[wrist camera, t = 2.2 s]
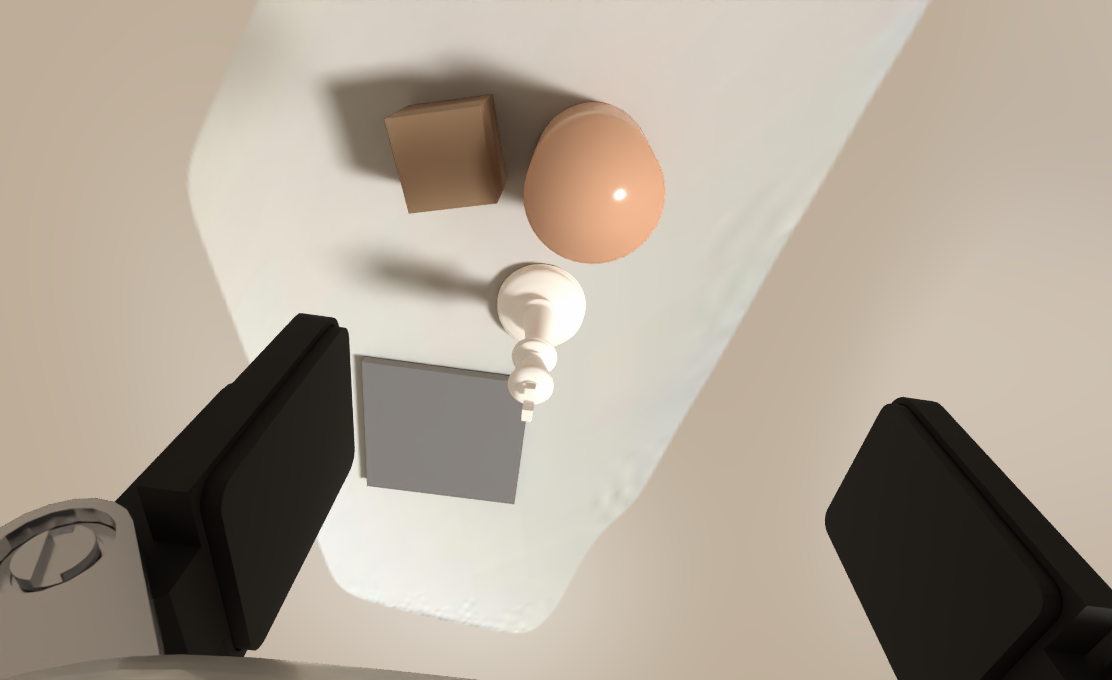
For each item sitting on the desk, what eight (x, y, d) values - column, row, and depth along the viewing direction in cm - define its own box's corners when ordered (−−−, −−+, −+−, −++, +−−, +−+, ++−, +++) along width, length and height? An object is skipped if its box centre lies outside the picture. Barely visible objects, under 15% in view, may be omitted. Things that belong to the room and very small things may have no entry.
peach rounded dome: (542, 93, 26) (532, 112, 21) (661, 112, 26) (680, 135, 21) (528, 210, 29) (516, 253, 24) (636, 226, 29) (647, 272, 24)
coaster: (364, 356, 34) (361, 361, 33) (531, 378, 34) (530, 384, 33) (370, 479, 39) (367, 485, 38) (515, 497, 39) (514, 504, 38)
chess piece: (494, 337, 33) (464, 454, 24) (500, 258, 30) (468, 356, 22) (579, 347, 33) (579, 466, 24) (591, 269, 30) (596, 370, 22)
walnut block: (409, 105, 27) (384, 118, 23) (492, 94, 26) (479, 106, 23) (429, 189, 29) (409, 213, 25) (507, 180, 28) (496, 203, 25)
